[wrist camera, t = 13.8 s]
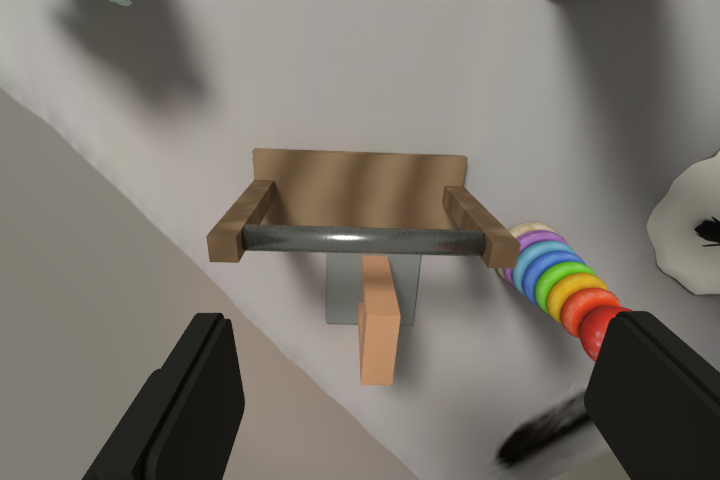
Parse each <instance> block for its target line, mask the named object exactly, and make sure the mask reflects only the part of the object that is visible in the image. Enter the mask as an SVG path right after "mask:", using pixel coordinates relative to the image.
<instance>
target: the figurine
mask: <svg viewBox="0 0 720 480" xmlns="http://www.w3.org/2000/svg"><path fill="white" fill-rule="evenodd" d="M646 228H647V231H648V234H649V237H650V240H651V242H652V244H653V246H654V248H655V250H656V261H657V265H658V267H659V268H660V269H661V270H662V271H663V272H664V273H666V274H667V275H669V276H671V277H673V278H675V279H677V280H678V281H679V282H680V283H681V284H682V285H683V286H684V287H685V288H687V289H688V290H690V291H691V292H693V293H694V294H696V295H701V294H720V151H719V152H718V153H717V155H716V156H715V157H713V158H710V159H706V160H703V161H700V162H697V163H695V164H692V165H691V166H690V167H689V168H688V169H687V170H685V171H684V172H683V173H682V174H681V175H680V176H679V177H677V178H676V179H675V180H674V181H673V183H672V185H671V187H670V189H669V191H668V192H667V194H666V195H665V197H664V198H663V199H662V200H661V201H660V202H659V203H658V204H657V206H656V207H655V208H654V209H653V211H652V213H651V215H650V218H649V220H648V222H647V225H646Z"/></svg>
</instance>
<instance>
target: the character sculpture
mask: <svg viewBox="0 0 720 480" xmlns="http://www.w3.org/2000/svg"><path fill="white" fill-rule="evenodd" d="M110 1H112V2H117V3H118V4H119V5H122V6H129V5H131V4H132V2H131V1H130V0H110Z"/></svg>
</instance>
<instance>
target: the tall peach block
mask: <svg viewBox="0 0 720 480" xmlns="http://www.w3.org/2000/svg"><path fill="white" fill-rule="evenodd" d="M361 271H362V285H363V299H364V303H359V304H358V329H359V351H360V374H361V385H392V381H393V373H394V365H395V357H396V349H397V341H398V333H399V325H400V317H401V316H400V311H399V307H398V302H397V297H396V293H395V288H394V284H393V279H392V274H391V270H390V265H389V261H388V257H384V256H362V263H361Z"/></svg>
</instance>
